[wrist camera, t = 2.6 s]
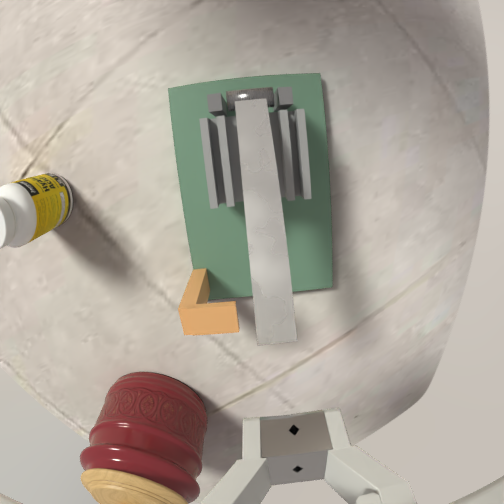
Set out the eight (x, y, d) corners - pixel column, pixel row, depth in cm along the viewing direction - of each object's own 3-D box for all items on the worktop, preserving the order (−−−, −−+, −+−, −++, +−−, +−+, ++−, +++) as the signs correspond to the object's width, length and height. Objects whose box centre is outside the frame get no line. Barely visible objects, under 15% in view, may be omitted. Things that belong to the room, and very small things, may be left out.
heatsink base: (170, 90, 24) (148, 77, 18) (317, 75, 23) (337, 58, 17) (200, 295, 30) (190, 333, 24) (329, 282, 30) (348, 317, 24)
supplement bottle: (77, 175, 26) (13, 195, 17) (73, 229, 28) (15, 267, 19) (35, 168, 25) (-31, 186, 16) (32, 220, 27) (-28, 252, 18)
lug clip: (193, 269, 28) (177, 309, 21) (237, 265, 28) (235, 305, 21) (197, 291, 29) (184, 335, 22) (240, 287, 29) (239, 332, 22)
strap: (227, 99, 20) (225, 87, 19) (271, 95, 20) (271, 82, 19) (248, 344, 17) (247, 346, 15) (304, 338, 17) (307, 340, 15)
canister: (121, 352, 33) (62, 478, 16) (224, 394, 35) (216, 529, 18) (103, 412, 37) (63, 514, 20) (189, 445, 39) (174, 551, 22)
